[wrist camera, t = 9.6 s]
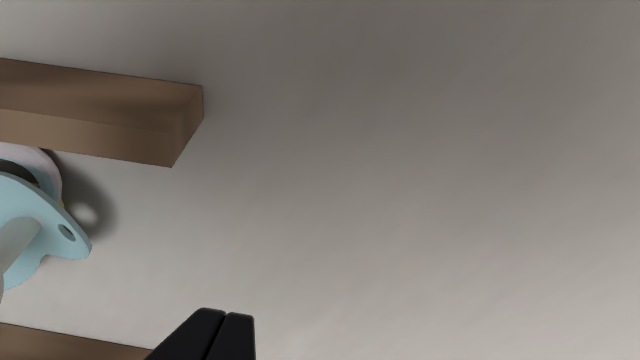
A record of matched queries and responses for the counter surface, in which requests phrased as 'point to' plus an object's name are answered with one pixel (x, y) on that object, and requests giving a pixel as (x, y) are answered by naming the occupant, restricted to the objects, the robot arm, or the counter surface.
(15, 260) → the pacifier
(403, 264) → the counter surface
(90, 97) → the walnut bay
